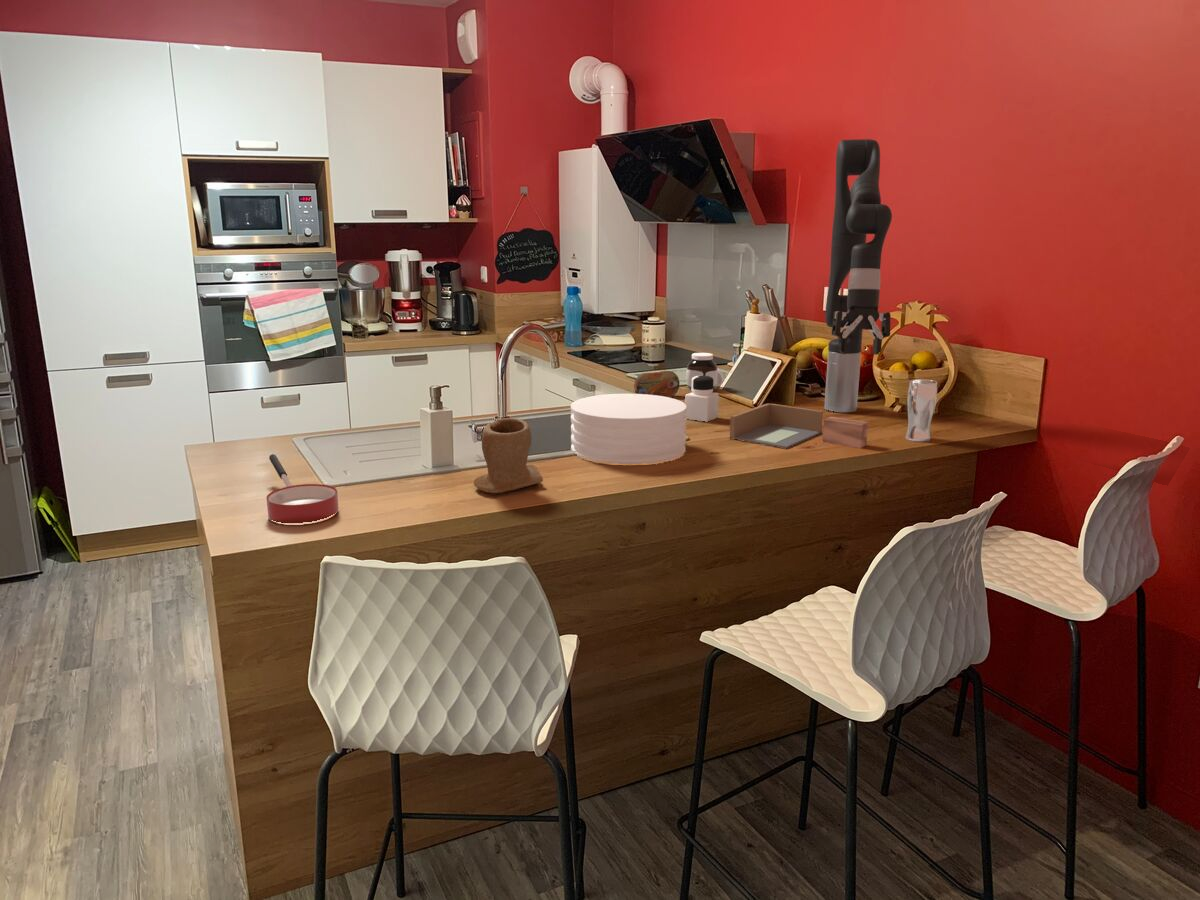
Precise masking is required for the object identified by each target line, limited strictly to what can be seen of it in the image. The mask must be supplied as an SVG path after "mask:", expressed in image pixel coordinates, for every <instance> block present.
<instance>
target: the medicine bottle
mask: <svg viewBox="0 0 1200 900" xmlns="http://www.w3.org/2000/svg"><path fill="white" fill-rule="evenodd" d="M690 390H691V392H689V393H687V394H685V395H684V396H685V398H684V401H685V402H684V403H685V404H686V413H685V415H686V420H687V419H689V420H688V421H694V420H697V421H696V422H702V421H705V422H704V423H709V422H710V420H711V421H713V420H715V419H717V418H719V399H720V398H719V397H720V395H719V394H720V393H719V392H714V389H713V378H712V377H710V376H695V377H693V378H692V386H691V389H690ZM708 421H709V422H708Z"/></svg>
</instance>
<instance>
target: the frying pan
mask: <svg viewBox="0 0 1200 900" xmlns="http://www.w3.org/2000/svg"><path fill="white" fill-rule="evenodd" d="M268 459H269V461H270V463H271V464H272V466H273V467H274V470H275V471H276V473H277V475H278V476H279V478H280V479H281V480H282V481H283V483H284V484H285V486H284V487H281V488H278V489H275V490H273V491H271V492H269V493H268V494H267V495H266V507H267V517H268V519H269V518H270V519H271V520H273V521H276V522H281V523H303V522H312V521H317V520H320V519H324V518H327V517H329V516H331V515H333V514H335V513H336V512H337V511H338V509H339V497H338V489H337V488H336V487H334V486H331V485H328V484H321V483H306V484H305V483H304V484H296V485H292V483H291V481H290V480H289V478H288V474H287V472H286V470H285V468H284V467H283V465H282V463H281V462H280V460H279V458H278V457H277V455H276V454H273V453H272V454H270V455H269V457H268ZM339 510H340V509H339ZM338 512H339V511H338ZM270 519H269V520H270ZM271 520H270V521H271Z"/></svg>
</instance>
